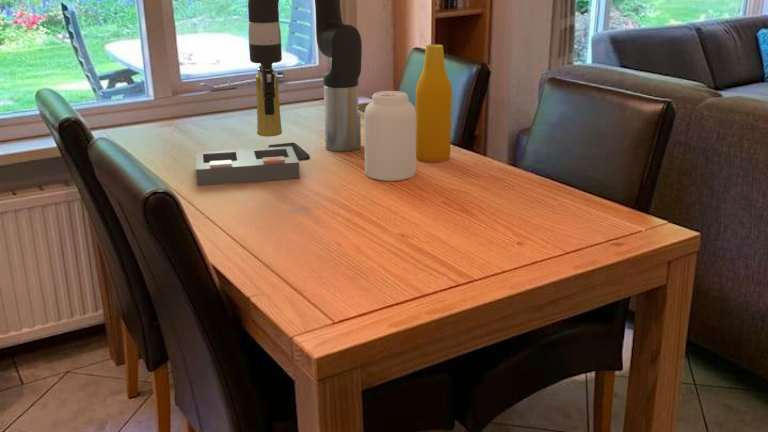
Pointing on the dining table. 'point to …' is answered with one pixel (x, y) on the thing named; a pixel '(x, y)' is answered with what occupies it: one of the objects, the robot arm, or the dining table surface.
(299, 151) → the phone
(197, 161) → the socket block
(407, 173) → the white jar
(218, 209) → the dining table surface
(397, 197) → the dining table surface
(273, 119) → the vase
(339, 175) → the dining table surface
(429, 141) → the beer bottle
